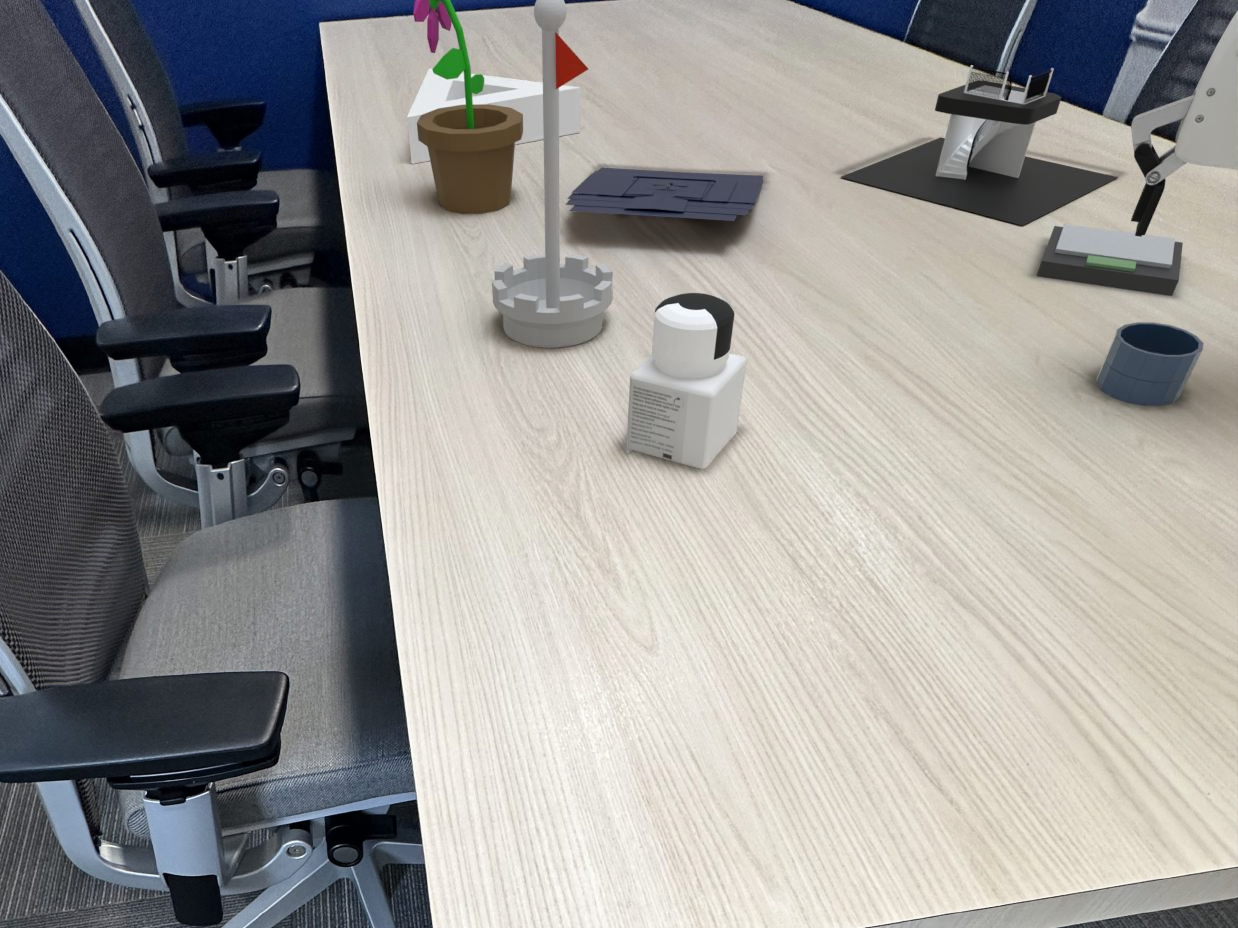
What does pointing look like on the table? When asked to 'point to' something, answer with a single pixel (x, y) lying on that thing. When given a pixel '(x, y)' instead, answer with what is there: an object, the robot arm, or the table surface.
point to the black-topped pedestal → (987, 155)
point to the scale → (1112, 259)
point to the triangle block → (495, 92)
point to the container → (687, 383)
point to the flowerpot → (466, 129)
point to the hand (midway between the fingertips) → (1201, 240)
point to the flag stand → (553, 230)
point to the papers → (667, 194)
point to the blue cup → (1149, 363)
